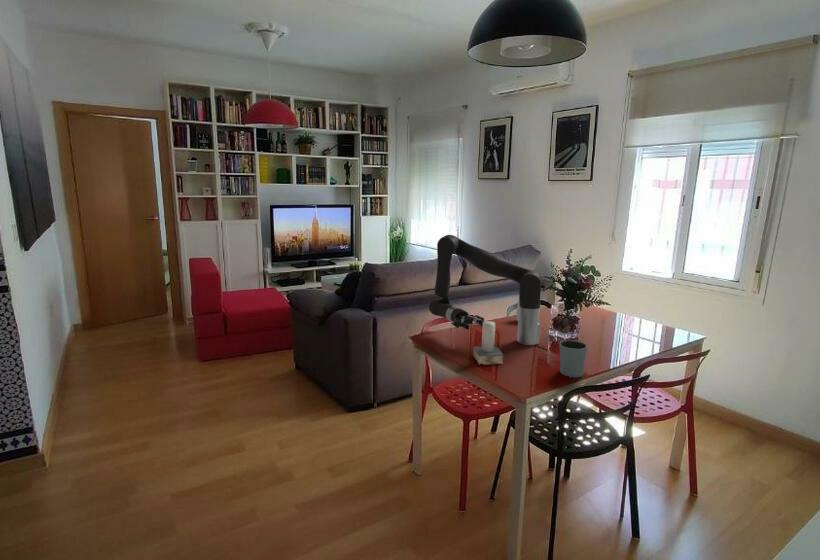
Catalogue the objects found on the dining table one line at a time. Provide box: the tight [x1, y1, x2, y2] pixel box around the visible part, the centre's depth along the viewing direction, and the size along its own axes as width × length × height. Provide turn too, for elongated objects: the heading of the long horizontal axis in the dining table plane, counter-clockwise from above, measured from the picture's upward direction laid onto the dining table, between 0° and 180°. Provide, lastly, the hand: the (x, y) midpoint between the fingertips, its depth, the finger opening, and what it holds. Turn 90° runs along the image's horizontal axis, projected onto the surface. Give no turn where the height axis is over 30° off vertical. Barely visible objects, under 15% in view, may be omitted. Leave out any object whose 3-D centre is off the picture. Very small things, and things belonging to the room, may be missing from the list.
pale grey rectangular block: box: [481, 320, 496, 353], centre depth 189 cm, size 5×5×12 cm
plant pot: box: [558, 339, 588, 379], centre depth 177 cm, size 10×10×12 cm
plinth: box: [472, 345, 504, 366], centre depth 190 cm, size 10×10×4 cm
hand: (476, 325), depth 196 cm, fingers open, 8 cm apart
